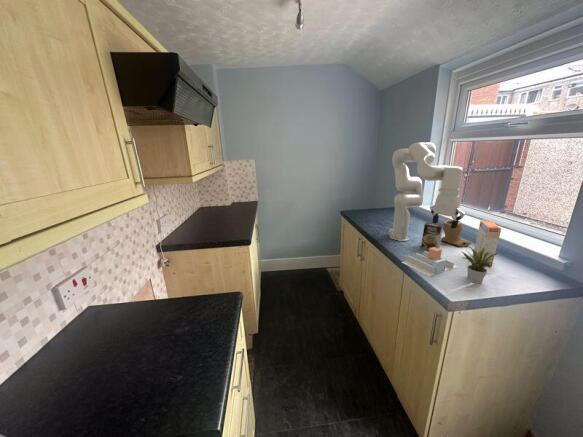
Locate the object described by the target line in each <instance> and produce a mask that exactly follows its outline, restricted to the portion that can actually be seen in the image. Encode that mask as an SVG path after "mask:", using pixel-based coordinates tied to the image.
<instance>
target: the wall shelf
mask: <svg viewBox="0 0 583 437" xmlns="http://www.w3.org/2000/svg"><path fill="white" fill-rule="evenodd" d="M428 254H429V251H426V250H424V251H423V255H422V254H420V253H418V252H416V253H415V255H414V257H413V256H411V255H407V256H406V260H405V261H401V264H404V265H406V266H409V267H410V268H412V269H414V270H416V271H418V272H420V273H422V274H424V275H426V276H428V277H430V276H433V275H436V274H440V273H442V272H446V271H448V270H451V269H455V268H458V267H459V265H457V264H455V262H453V261H451V260H449V259H446V258H443V257H442V256H441V257H440V260H437V261H435V260H432V259H430V258H428Z"/></svg>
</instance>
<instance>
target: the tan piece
mask: <svg viewBox="0 0 583 437" xmlns="http://www.w3.org/2000/svg"><path fill="white" fill-rule="evenodd" d="M452 221H453V219H451V220H450V219H448V220H445V221H444V222H442V225H444V226H443V232H444V236H443V237H441V241H442V242H446V243H448V244H452V245H455V246H458V247H468V246H469V247H470V245H472V242H470V241H467V240H465V239H462V238H460V237H461V234H462V232H463V223H462V222H461V221H460V220H458V224H457V227H456V228H454V229H452V228H451V224H452Z"/></svg>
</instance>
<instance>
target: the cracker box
mask: <svg viewBox="0 0 583 437" xmlns="http://www.w3.org/2000/svg"><path fill="white" fill-rule="evenodd" d="M478 226H479V227H478V230H477V235H476V240H475V245H474V248H473V249H475V250H476V251H475V252H477V253H476V254H478V256H479V257H480V252H481V250H482V249H483V247H485V250H484V253H483V255H482V256H483V257H484V255H485V254H486V252H487V251H488V253H489V254H487V255H486V257H485V259H486V258H488V257H489V256H491V255H493V254H496V251H497V247H498V243H499V239H500V235H501V232H502V228H501V227H500V226H499V225H497V223H495V222H494V221H493V220H480V223H479V225H478ZM472 256H474V253H473V252H472ZM475 257H476V256H475ZM483 257H482V259H483ZM492 258H493V259H492ZM490 259H491V260H490ZM490 259H488V260H489V261H488V260H487V261H486V262H492V263H494V259H495V256H493V257H491V258H490ZM489 265H492V266H493V264H489Z"/></svg>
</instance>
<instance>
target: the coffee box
mask: <svg viewBox="0 0 583 437" xmlns="http://www.w3.org/2000/svg"><path fill="white" fill-rule="evenodd" d="M443 226H444V225H443V224H440V223H439V224H438V223H434V224H433V222H428V221H427V222H426V223H424V225H423V232H422V238H421V242H420V243H421V244H420V248H421V249H425V250H428V251H429V248H433V247H436V248H439V249H441V248H440V247H441V243H442V242H441V241H442V240H441V238H442V235H443V232H444V229H443Z"/></svg>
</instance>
